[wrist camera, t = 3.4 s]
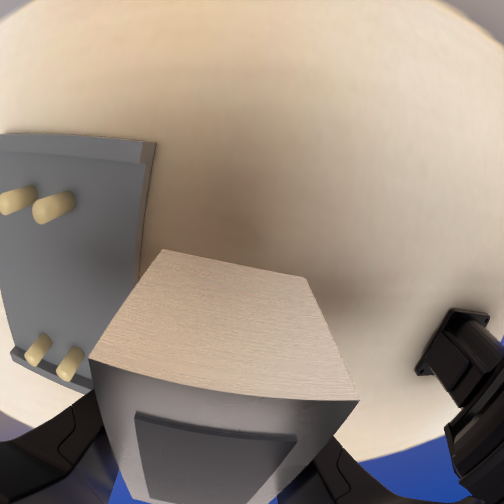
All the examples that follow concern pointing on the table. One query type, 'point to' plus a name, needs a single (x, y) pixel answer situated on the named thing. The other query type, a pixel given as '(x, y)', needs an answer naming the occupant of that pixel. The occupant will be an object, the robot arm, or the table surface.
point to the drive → (217, 382)
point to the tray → (68, 244)
